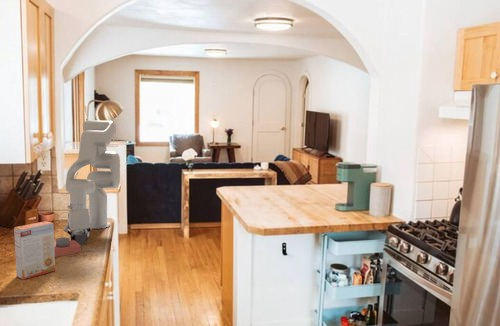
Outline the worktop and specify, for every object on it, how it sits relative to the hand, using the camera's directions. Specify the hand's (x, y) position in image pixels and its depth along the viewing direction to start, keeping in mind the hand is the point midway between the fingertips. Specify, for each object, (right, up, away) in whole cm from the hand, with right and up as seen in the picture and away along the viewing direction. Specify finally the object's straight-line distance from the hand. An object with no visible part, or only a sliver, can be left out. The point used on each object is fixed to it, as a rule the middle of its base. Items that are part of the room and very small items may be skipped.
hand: (78, 242), depth 240 cm
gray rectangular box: (0, -1, 0) cm, 1 cm away
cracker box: (-3, -6, -42) cm, 42 cm away
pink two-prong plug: (-5, -2, -12) cm, 13 cm away
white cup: (-2, +1, +11) cm, 11 cm away
